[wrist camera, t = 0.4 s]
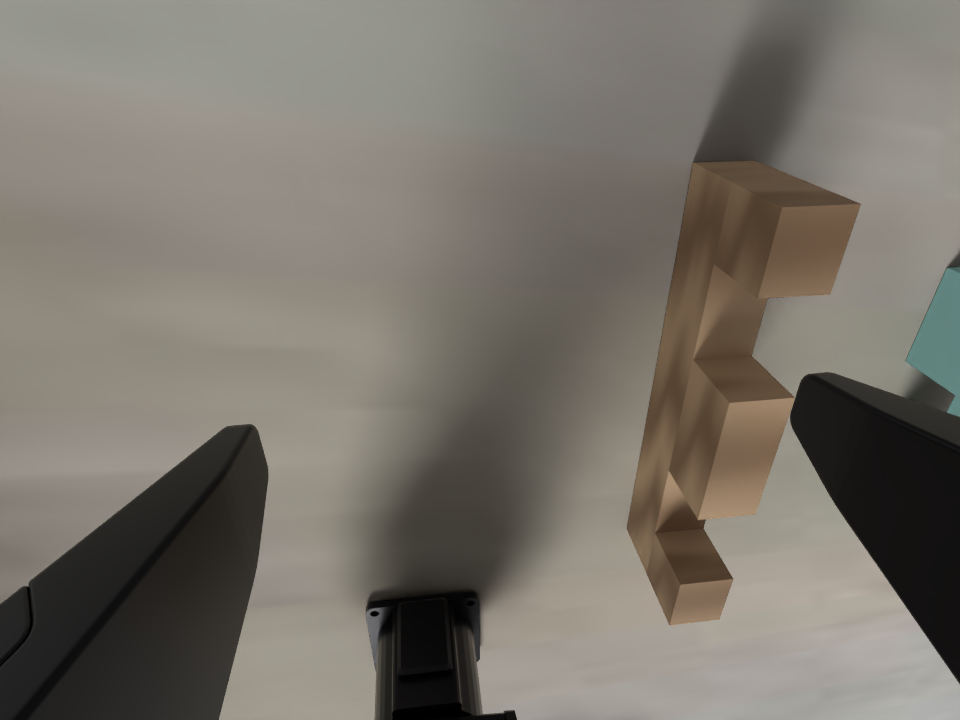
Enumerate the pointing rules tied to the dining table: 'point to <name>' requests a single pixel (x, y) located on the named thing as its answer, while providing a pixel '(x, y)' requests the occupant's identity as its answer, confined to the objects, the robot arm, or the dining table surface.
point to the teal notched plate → (941, 338)
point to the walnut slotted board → (724, 368)
